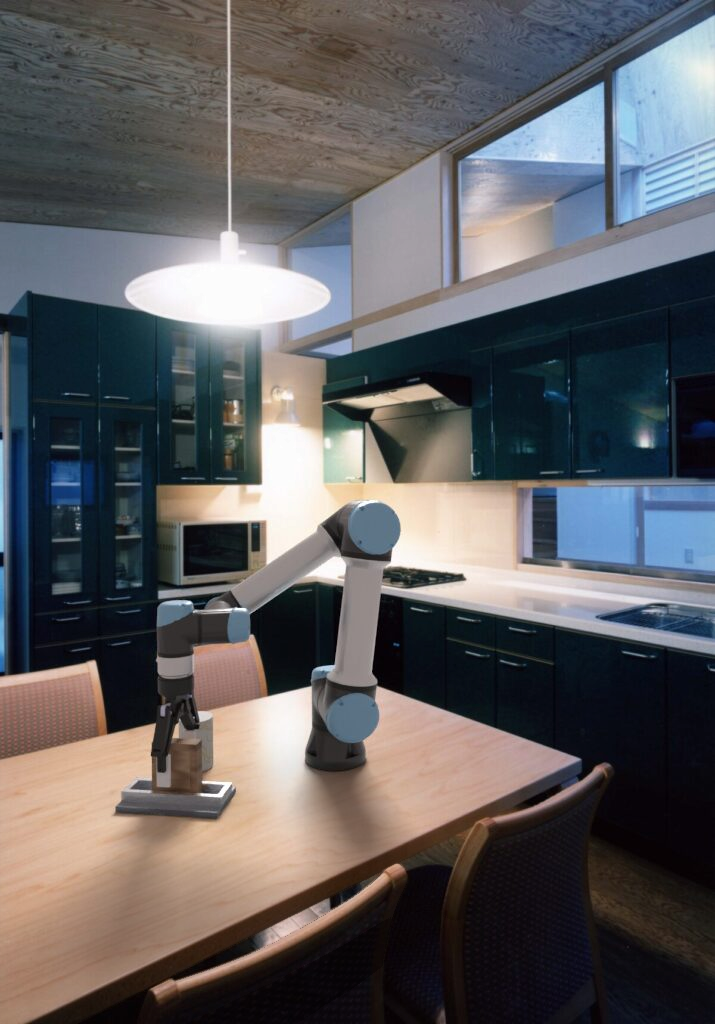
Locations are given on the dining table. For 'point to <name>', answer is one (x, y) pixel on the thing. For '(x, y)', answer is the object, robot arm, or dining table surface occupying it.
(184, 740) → the door panel
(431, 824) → the dining table surface
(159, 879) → the dining table surface
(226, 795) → the track
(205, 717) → the yellow-veined white cylinder
